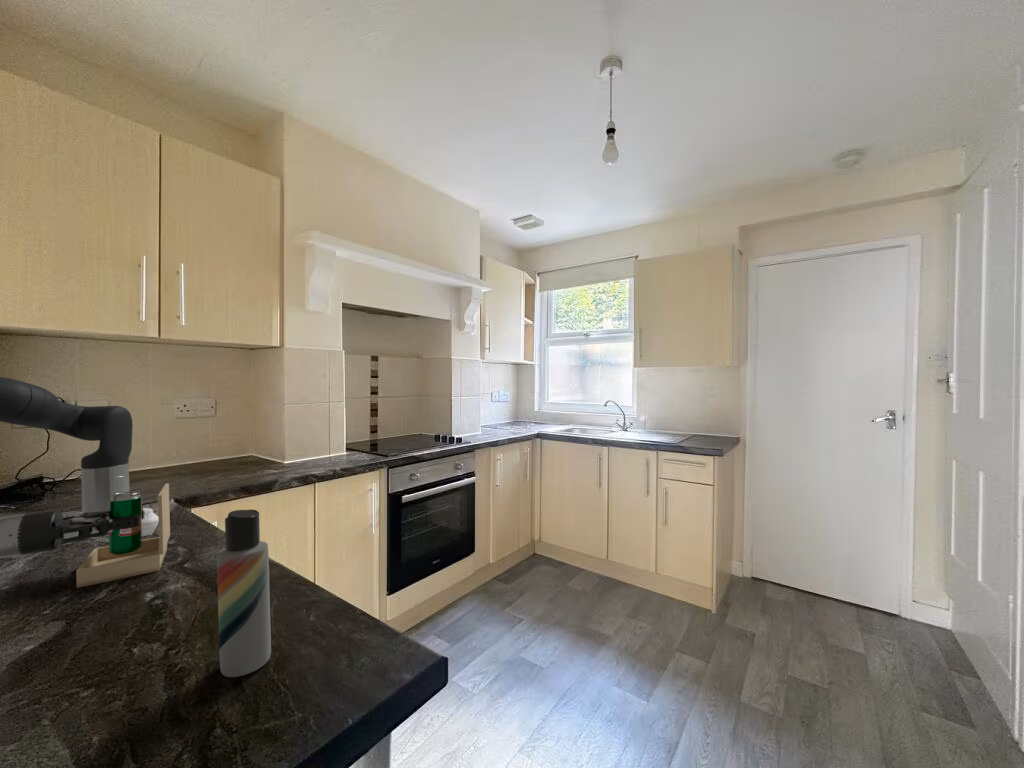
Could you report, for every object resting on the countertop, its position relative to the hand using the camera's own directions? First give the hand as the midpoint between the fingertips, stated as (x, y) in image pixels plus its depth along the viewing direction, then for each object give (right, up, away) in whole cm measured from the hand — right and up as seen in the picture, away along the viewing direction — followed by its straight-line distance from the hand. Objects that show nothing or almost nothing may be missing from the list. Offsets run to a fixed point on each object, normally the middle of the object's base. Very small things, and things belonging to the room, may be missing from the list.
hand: (140, 517), depth 89 cm
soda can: (-2, -7, -2) cm, 7 cm away
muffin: (-15, -11, +18) cm, 26 cm away
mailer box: (-2, -10, -1) cm, 10 cm away
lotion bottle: (+44, -9, -34) cm, 56 cm away
